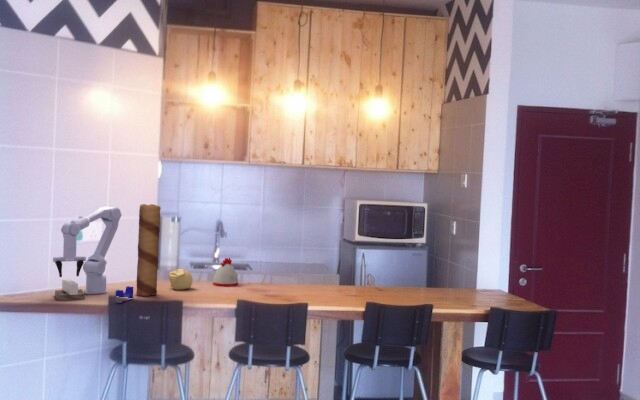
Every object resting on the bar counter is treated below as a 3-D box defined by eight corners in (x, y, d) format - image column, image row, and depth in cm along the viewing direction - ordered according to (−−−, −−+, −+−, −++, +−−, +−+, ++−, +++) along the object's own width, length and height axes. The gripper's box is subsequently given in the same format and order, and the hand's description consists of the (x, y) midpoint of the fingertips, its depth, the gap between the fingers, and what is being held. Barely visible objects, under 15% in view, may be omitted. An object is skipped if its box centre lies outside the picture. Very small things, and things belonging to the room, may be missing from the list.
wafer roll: (149, 291, 329) (152, 203, 328) (161, 295, 322) (164, 205, 321) (131, 294, 321) (134, 204, 320) (143, 297, 314) (146, 205, 313)
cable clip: (124, 298, 311) (124, 286, 310) (132, 299, 310) (133, 286, 310) (112, 303, 299) (112, 290, 299) (121, 303, 298) (121, 290, 298)
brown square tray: (81, 294, 315) (81, 289, 315) (84, 299, 304) (84, 294, 304) (55, 295, 310) (55, 290, 310) (57, 300, 298) (57, 295, 298)
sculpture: (165, 288, 342) (165, 267, 341) (185, 286, 350) (186, 266, 349) (175, 291, 333) (176, 270, 333) (196, 289, 341) (196, 269, 341)
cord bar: (69, 289, 313) (69, 279, 313) (77, 294, 302) (78, 283, 302) (62, 289, 311) (62, 279, 311) (70, 294, 300) (70, 284, 300)
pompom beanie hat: (243, 284, 363) (244, 258, 362) (226, 287, 351) (227, 260, 350) (224, 281, 370) (225, 255, 370) (207, 284, 358) (208, 257, 358)
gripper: (84, 246, 314) (83, 274, 315) (52, 247, 307) (51, 275, 307) (87, 248, 308) (86, 276, 309) (54, 249, 301) (53, 278, 301)
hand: (69, 276), depth 307 cm, fingers open, 7 cm apart
